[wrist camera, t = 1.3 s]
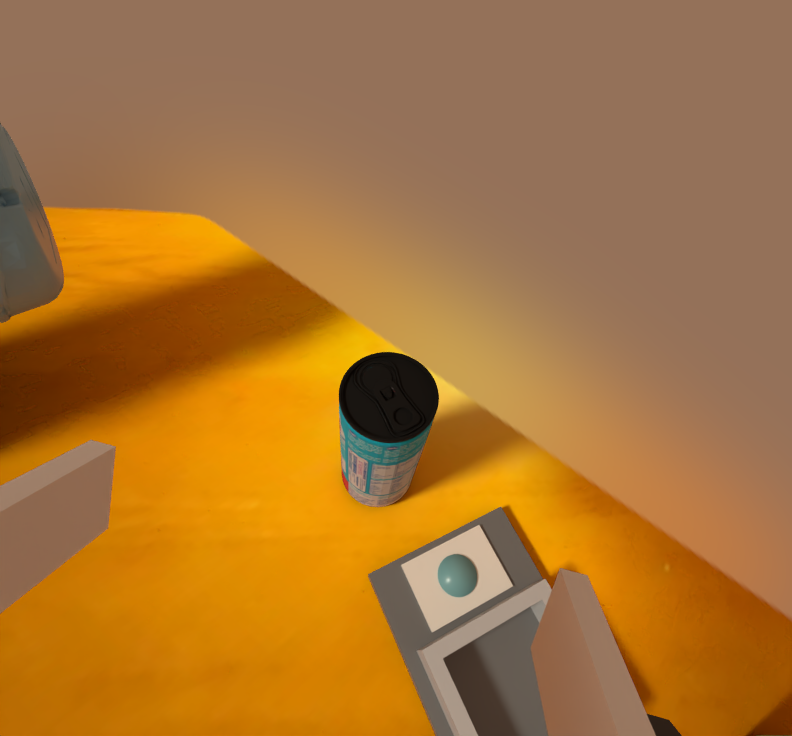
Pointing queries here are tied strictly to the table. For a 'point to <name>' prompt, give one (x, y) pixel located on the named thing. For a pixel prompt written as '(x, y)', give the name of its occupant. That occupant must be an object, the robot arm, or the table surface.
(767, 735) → the plant pot
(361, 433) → the beverage can
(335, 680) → the table surface
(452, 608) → the can holder
